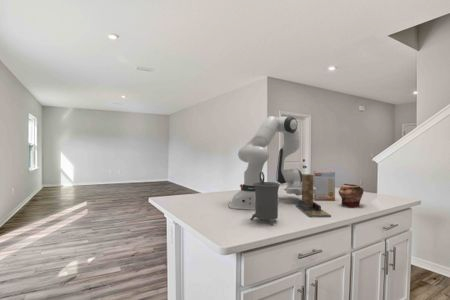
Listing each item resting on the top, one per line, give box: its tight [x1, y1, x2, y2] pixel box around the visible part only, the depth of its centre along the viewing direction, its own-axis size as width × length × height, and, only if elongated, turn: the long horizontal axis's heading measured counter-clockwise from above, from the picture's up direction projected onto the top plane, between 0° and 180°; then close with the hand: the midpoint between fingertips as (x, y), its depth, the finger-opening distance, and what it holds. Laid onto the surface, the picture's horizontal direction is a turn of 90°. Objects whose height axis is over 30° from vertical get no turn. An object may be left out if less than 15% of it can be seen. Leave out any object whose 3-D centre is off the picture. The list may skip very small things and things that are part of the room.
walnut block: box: [301, 173, 314, 208], centre depth 155 cm, size 5×6×20 cm
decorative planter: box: [338, 183, 364, 208], centre depth 163 cm, size 20×12×14 cm, turn 116°
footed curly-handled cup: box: [250, 171, 281, 227], centre depth 129 cm, size 19×15×25 cm
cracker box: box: [312, 170, 336, 202], centre depth 181 cm, size 14×6×21 cm, turn 84°
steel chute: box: [295, 199, 332, 218], centre depth 148 cm, size 12×25×4 cm, turn 1°
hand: (304, 192), depth 160 cm, fingers closed
